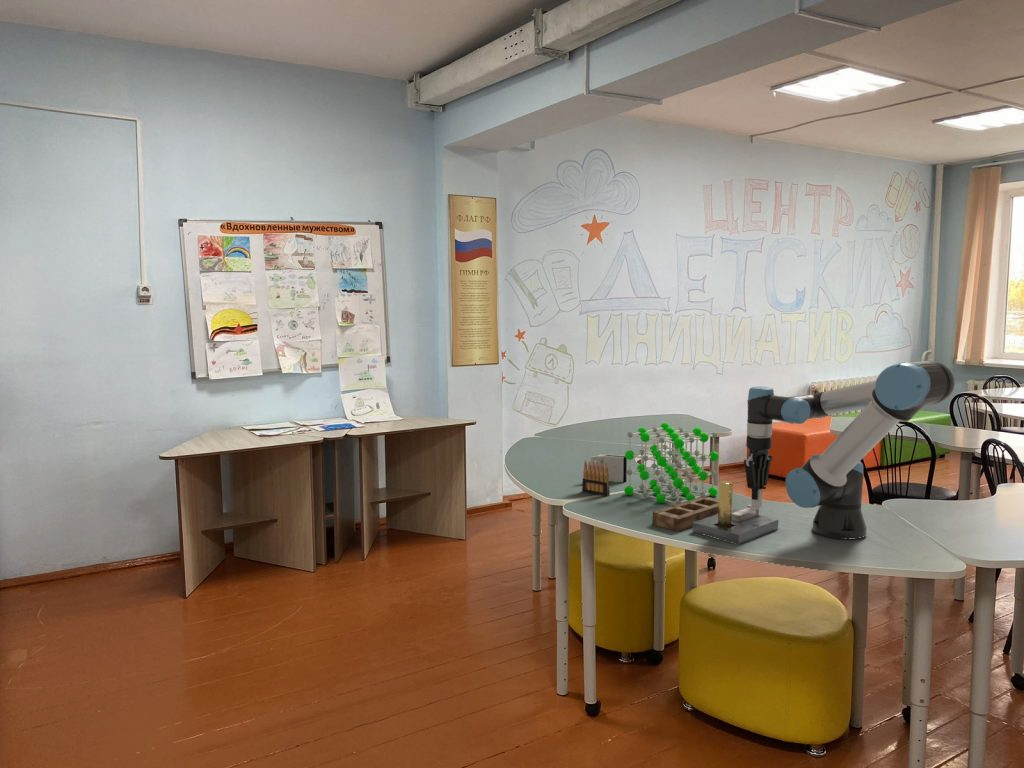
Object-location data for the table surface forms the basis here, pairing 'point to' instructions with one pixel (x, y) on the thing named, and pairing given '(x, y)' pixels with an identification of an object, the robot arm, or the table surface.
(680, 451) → the molecular structure model
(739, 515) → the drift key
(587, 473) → the ammunition clip
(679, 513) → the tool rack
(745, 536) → the socket housing
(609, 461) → the grey rectangular box
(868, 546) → the table surface
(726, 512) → the peg
